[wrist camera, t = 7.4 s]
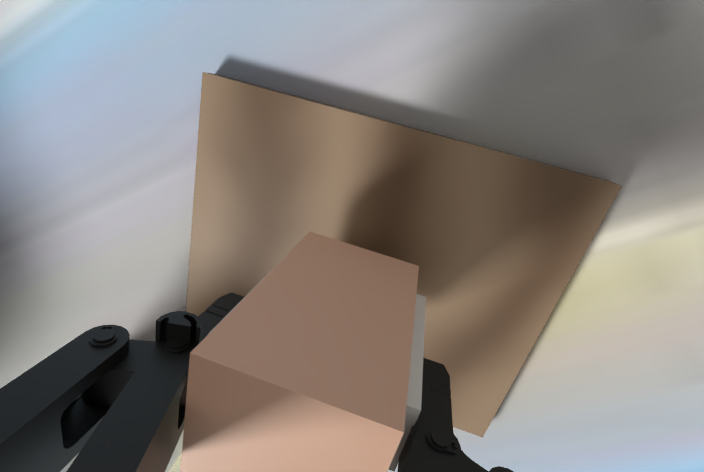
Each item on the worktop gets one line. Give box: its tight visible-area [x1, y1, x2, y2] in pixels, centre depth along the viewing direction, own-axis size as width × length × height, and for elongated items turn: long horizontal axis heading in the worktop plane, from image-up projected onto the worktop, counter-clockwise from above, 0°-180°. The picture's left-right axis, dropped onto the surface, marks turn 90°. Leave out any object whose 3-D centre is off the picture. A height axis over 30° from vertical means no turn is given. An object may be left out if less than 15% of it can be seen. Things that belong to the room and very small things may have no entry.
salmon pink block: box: [180, 232, 419, 472], centre depth 13 cm, size 5×5×9 cm
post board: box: [186, 72, 621, 437], centre depth 16 cm, size 20×16×9 cm
